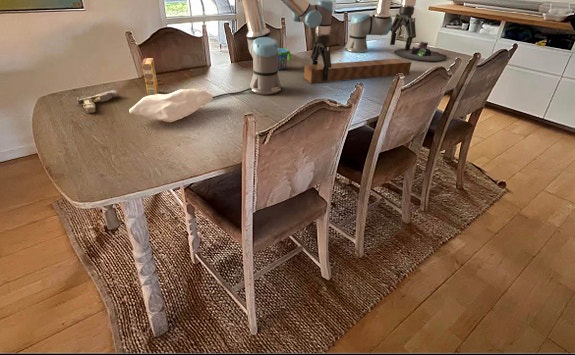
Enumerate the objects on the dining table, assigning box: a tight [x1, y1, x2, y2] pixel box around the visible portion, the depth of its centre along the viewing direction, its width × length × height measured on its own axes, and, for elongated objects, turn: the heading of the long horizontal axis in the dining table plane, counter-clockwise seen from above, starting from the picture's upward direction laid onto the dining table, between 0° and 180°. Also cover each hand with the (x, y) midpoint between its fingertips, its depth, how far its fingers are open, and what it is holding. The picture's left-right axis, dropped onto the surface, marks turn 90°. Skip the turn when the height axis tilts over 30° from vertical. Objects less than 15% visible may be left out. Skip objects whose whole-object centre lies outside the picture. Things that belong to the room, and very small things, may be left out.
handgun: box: [76, 89, 120, 114], centre depth 155 cm, size 3×18×15 cm
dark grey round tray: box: [393, 41, 447, 62], centre depth 246 cm, size 35×35×9 cm
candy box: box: [141, 57, 160, 96], centre depth 163 cm, size 9×4×15 cm, turn 13°
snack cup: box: [278, 47, 292, 71], centre depth 207 cm, size 16×10×10 cm
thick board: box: [303, 57, 412, 84], centre depth 201 cm, size 62×9×7 cm, turn 112°
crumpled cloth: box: [129, 88, 214, 123], centre depth 147 cm, size 24×35×9 cm
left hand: (319, 76), depth 194 cm, fingers open, 12 cm apart
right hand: (399, 47), depth 203 cm, fingers open, 13 cm apart
